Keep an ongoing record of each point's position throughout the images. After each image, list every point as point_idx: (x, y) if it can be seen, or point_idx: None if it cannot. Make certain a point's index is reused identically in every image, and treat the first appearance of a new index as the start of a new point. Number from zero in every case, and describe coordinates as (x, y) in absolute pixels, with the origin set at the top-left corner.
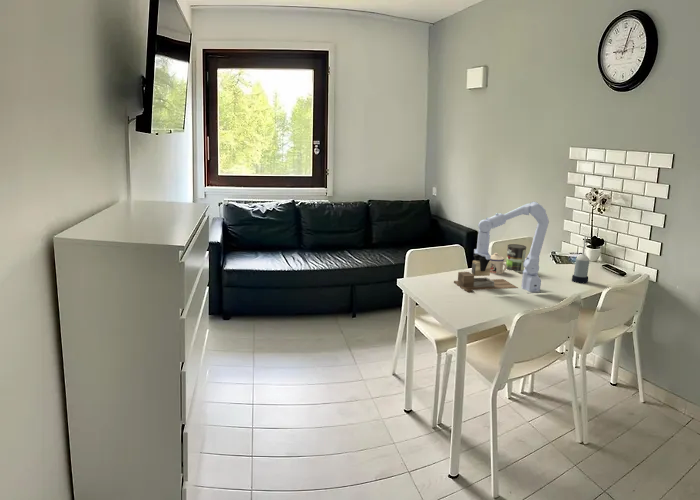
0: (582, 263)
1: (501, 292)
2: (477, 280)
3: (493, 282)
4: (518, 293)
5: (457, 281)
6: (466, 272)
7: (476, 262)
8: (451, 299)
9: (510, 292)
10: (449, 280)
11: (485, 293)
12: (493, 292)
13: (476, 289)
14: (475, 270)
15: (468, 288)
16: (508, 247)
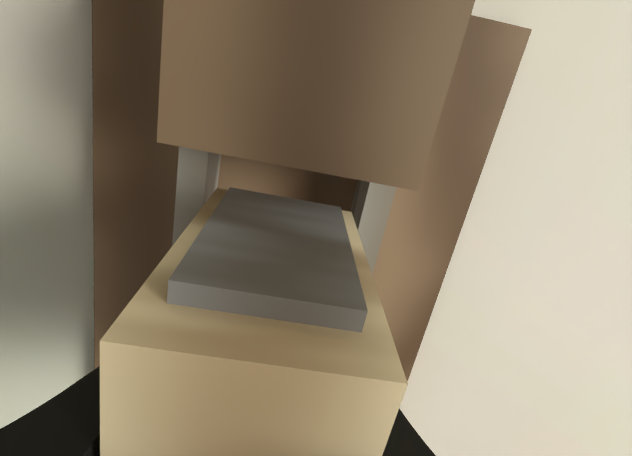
0: None
1: (47, 318)
2: None
3: None
4: (5, 424)
5: (486, 61)
6: (387, 120)
7: (117, 356)
8: None
9: (39, 386)
10: (622, 40)
11: (25, 145)
12: (54, 249)
13: (101, 87)
14: (195, 224)
15: (159, 3)
16: None
